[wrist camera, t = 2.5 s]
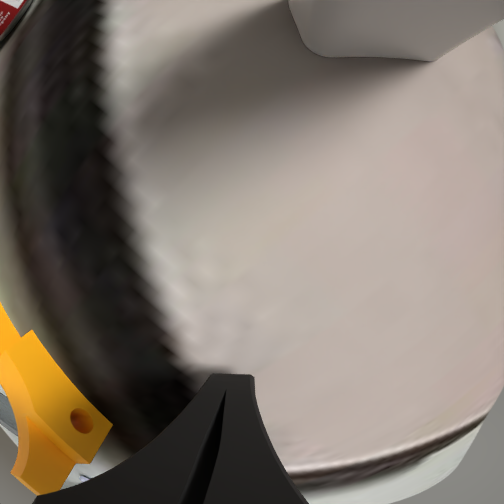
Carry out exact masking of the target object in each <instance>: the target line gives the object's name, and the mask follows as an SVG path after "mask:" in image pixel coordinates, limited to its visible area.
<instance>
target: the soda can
mask: <svg viewBox="0 0 504 504" xmlns="http://www.w3.org/2000/svg"><path fill="white" fill-rule="evenodd" d="M31 2H32V0H0V42H1V41H2V40H3V39H4V38H5V37H6V36H7V35H8V34H9V33H10V31H11V30H12V29H13V28H14V26H15V25H16V24H17V23H18V21H19V20H20V19H21V17H22V16H23V14H24V13H25V12H26V10H27V9H28V7H29V5H30V4H31Z"/></svg>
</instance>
